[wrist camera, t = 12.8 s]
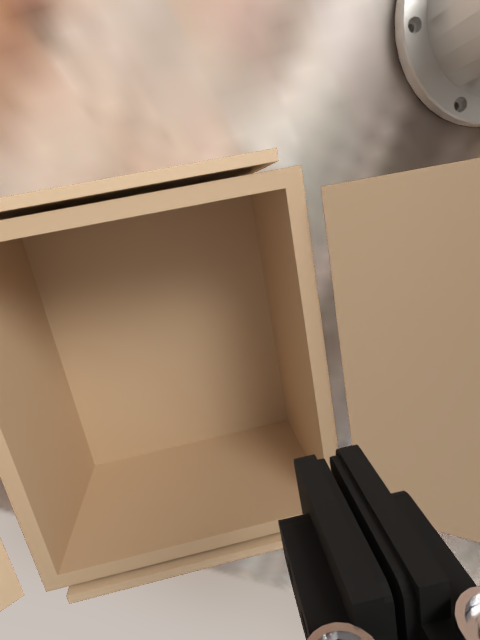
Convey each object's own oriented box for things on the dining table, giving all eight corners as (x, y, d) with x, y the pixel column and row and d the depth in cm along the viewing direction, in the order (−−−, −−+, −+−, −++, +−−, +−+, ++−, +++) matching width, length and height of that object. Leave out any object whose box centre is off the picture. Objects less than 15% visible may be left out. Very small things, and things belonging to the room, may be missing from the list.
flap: (325, 185, 17) (571, 140, 13) (362, 502, 22) (554, 554, 17) (320, 186, 17) (572, 141, 12) (359, 509, 21) (554, 564, 17)
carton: (257, 167, 27) (300, 143, 17) (299, 433, 32) (350, 532, 22) (3, 213, 26) (-110, 216, 16) (92, 482, 31) (50, 610, 21)
